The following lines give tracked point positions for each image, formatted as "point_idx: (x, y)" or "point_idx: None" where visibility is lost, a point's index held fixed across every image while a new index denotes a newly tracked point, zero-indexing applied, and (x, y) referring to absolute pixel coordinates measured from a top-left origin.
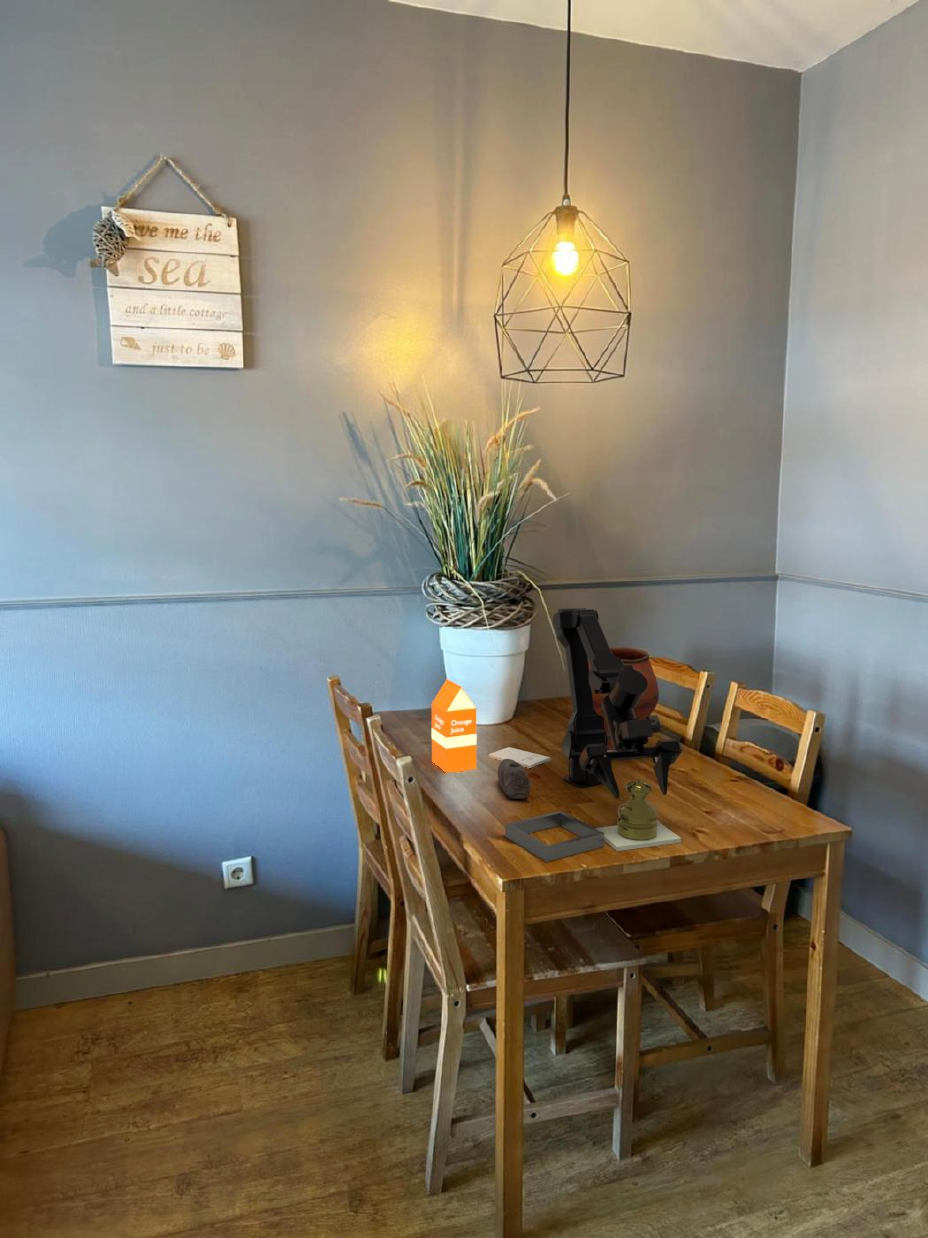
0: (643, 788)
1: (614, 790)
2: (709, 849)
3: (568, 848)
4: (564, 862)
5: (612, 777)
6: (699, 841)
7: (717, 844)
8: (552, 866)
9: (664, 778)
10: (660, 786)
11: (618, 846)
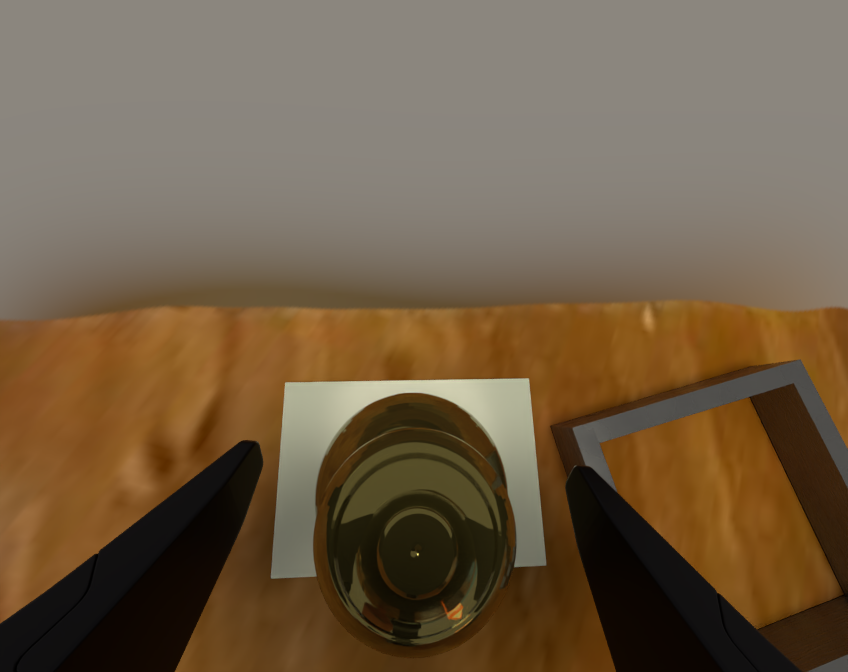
0: (414, 456)
1: (623, 505)
2: (235, 312)
3: (702, 385)
4: (698, 352)
5: (700, 605)
6: (224, 376)
7: (184, 338)
8: (736, 337)
9: (168, 526)
10: (228, 536)
11: (522, 380)
